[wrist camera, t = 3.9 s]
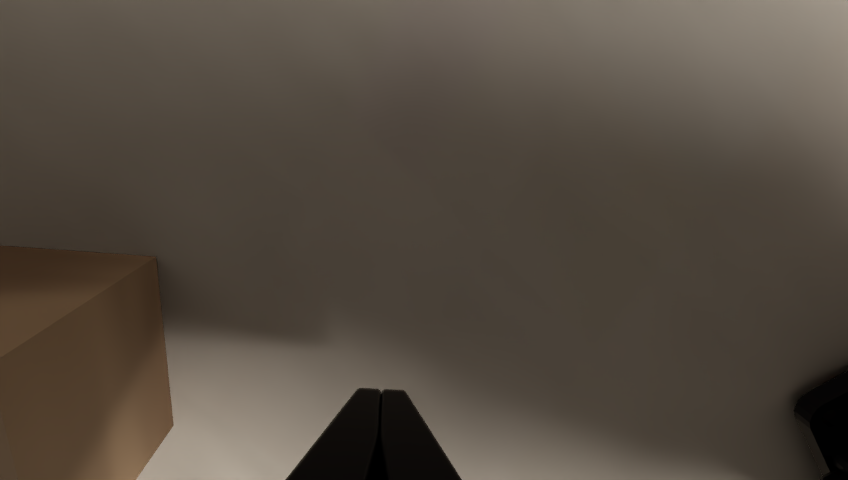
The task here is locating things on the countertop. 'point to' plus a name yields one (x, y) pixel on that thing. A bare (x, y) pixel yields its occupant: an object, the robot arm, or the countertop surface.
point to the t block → (80, 365)
